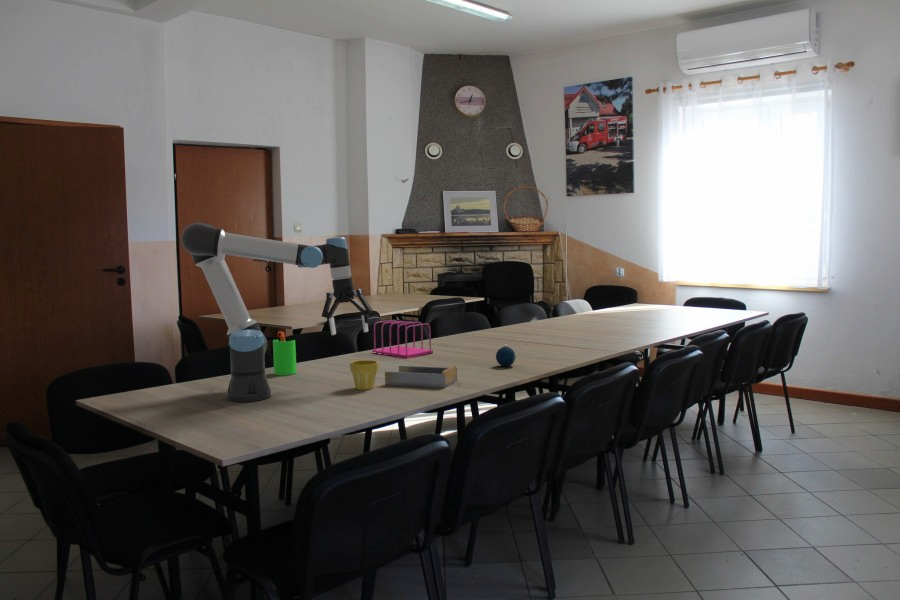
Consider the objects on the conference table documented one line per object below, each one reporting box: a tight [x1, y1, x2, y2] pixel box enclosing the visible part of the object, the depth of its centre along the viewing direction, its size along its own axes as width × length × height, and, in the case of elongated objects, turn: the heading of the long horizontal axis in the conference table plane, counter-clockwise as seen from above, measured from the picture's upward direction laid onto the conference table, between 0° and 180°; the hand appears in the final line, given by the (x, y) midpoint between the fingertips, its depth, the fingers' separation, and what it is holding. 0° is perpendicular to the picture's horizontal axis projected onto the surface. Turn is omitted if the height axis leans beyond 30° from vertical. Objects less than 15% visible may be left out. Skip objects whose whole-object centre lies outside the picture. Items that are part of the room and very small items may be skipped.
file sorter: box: [371, 319, 434, 359], centre depth 342 cm, size 17×25×16 cm
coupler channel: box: [384, 365, 458, 389], centre depth 270 cm, size 14×24×6 cm, turn 70°
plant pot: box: [349, 359, 379, 391], centre depth 262 cm, size 10×10×10 cm
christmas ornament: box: [495, 343, 516, 367], centre depth 302 cm, size 8×8×10 cm
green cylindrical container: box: [272, 331, 297, 376], centre depth 294 cm, size 9×8×18 cm
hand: (349, 333), depth 269 cm, fingers open, 13 cm apart
